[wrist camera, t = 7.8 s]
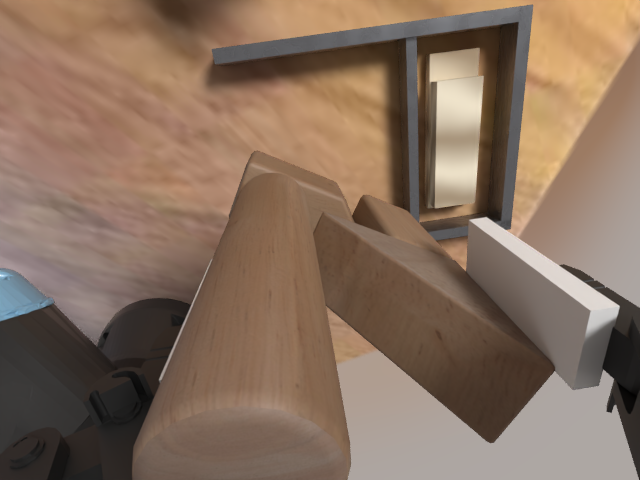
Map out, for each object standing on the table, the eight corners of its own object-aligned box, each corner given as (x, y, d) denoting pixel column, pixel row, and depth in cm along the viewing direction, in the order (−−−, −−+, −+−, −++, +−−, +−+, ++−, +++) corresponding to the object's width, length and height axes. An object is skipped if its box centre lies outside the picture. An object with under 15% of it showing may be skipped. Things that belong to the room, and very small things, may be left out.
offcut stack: (464, 198, 43) (476, 206, 40) (423, 204, 42) (432, 212, 40) (472, 49, 36) (487, 46, 33) (424, 55, 36) (435, 52, 33)
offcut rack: (496, 219, 44) (510, 228, 41) (262, 255, 43) (260, 267, 40) (513, 10, 35) (533, 4, 32) (217, 51, 34) (211, 49, 31)
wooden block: (385, 256, 25) (581, 601, 8) (235, 202, 22) (88, 541, 6) (410, 209, 23) (701, 507, 7) (254, 146, 21) (137, 377, 4)
